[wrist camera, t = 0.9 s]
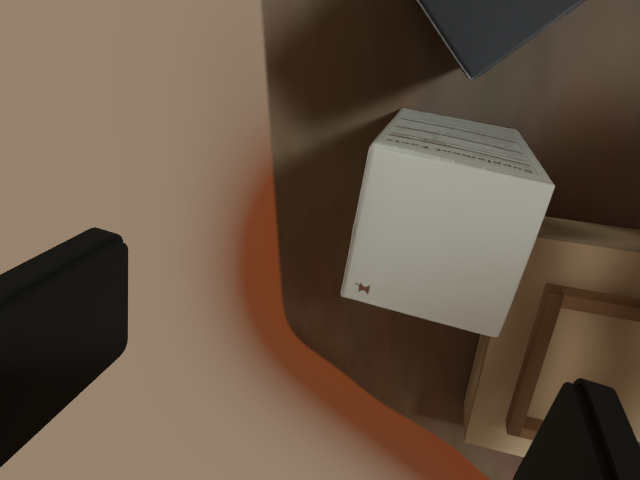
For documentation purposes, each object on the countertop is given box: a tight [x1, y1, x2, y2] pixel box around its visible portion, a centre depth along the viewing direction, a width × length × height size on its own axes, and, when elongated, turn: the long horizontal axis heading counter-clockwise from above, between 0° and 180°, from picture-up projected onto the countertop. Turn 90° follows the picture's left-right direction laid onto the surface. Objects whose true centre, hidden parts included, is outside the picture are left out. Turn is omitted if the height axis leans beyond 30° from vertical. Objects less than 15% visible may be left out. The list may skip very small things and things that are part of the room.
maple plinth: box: [464, 216, 640, 457], centre depth 30 cm, size 15×16×5 cm
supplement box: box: [340, 108, 555, 337], centre depth 25 cm, size 7×7×13 cm
